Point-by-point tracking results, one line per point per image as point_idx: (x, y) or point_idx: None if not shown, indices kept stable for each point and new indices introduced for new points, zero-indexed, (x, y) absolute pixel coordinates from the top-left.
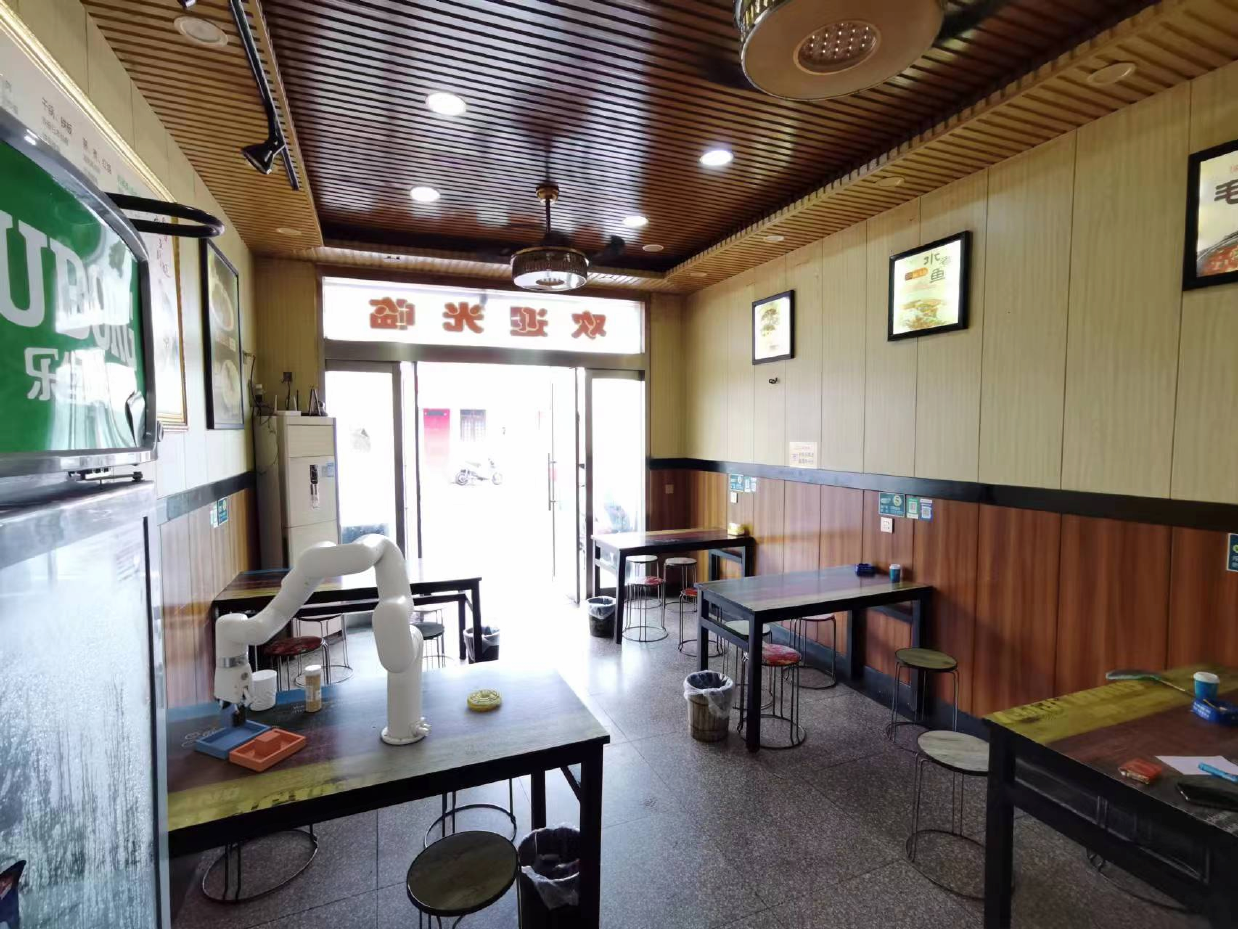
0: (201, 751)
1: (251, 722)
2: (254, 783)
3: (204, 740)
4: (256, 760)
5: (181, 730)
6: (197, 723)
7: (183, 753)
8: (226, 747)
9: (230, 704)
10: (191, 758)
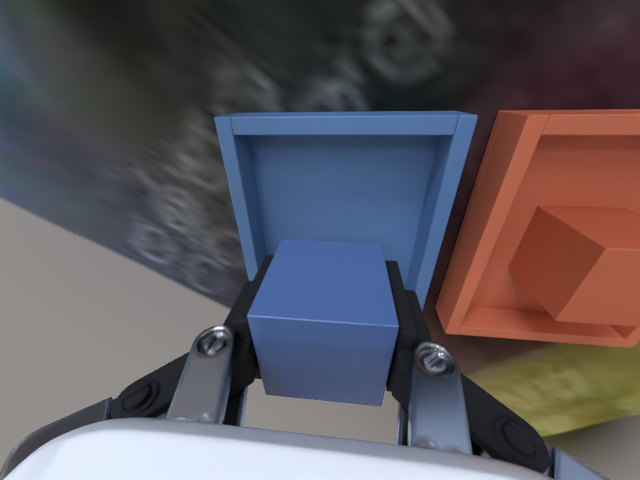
0: None
1: (304, 130)
2: (613, 353)
3: None
4: (604, 343)
5: (85, 236)
6: (53, 180)
7: None
8: None
9: (234, 340)
10: None
